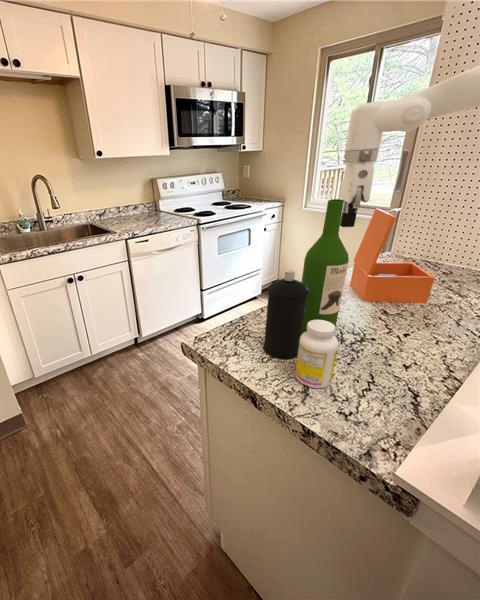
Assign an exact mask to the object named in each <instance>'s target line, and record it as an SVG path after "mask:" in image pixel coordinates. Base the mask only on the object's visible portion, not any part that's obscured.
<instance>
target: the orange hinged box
mask: <svg viewBox="0 0 480 600" xmlns="http://www.w3.org/2000/svg"><path fill="white" fill-rule="evenodd" d="M377 274H396V275H397V276H377ZM435 279H436V277H435V276H434V275H432V274H431V273H429V272H428V271H426V270H425V269H423V268H422V267H421V266H419V265H418V264H416V263H415V262H413V261H411V262H409V261H407V262H406V261H405V262H404V261H401V262H400V261H398V262H397V261H395V262H394V261H392V262H391V261H389V262H388V261H383V262H379V261H377V262H376V264H375V266H374V268H373V270H372V272H371V275H367V274H366V273H365V272H364V271H363V270H362V269H361V268H360V267H359V266H358V265H357V264H356V263H355V262H354V263H353V268H352V272H351V277H350V283H349V286H351V288H352V289H353V291H354V292H355V293H356V294H357V296H358V297H359V298H360V300H361V301H362V302H375V303H376V302H380V303H412V304H427V303H428V300H429V297H430V293H431V291H432V288H433V286H434V282H435Z"/></svg>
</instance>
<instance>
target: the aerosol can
mask: <svg viewBox="0 0 480 600" xmlns="http://www.w3.org/2000/svg"><path fill="white" fill-rule="evenodd" d="M295 275H296V271H295V270H294V269H285V270H284V278H280V279H277V280H275V281H274V282H272V283H270V284H269V285H268V286H267V291H268V296H267V307H266V308H267V309H266V320H265V332H264V343H263V344H262V349H263V351H264V352H265V353H266V354H267V355H269V356H270V357H273V358H276V359H280V360H291V359H295V358H297V357H298V349H299V341H300V337H301V334H302V327H303V320H304V313H305V306H306V300H307V295H308V293H309V289H308V288H307V287H306V286H305V285H304V284H303V283H302V281H299V280H297V279H295V278H296V277H295Z"/></svg>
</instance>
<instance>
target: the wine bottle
mask: <svg viewBox="0 0 480 600" xmlns="http://www.w3.org/2000/svg"><path fill="white" fill-rule="evenodd" d="M343 204H344V200H342V199H341V198H339V199H338V198H333V199H328V200H327V205H326V211H325V217H324V223H323V228H322V233H321V235H320V237H319V238H318V239H317V240H316V241H315V242H314V243H313V245H312V246H311V247H310V248H309V249H308V250H307V251H306V254H305V257H304V259H303V260H304V261H303V268H302V274H301V275H302V276H301V282H302V283H303V284H304V285H305V286H306V287H307V288H308V289H309V293H308V295H307V300H306V306H305V313H304V320H303V327H302V334H303V333H304V332H306V331H307V324H308V322H309V321H311V320H325V321H328V322H330V323H332V324H334V326H335V328H337V327H336V326H337V321H338V317H339V312H340V307H341V302H342V297H343V291H344V286H345V282H346V277H347V273H348V267H349V261H350V259H349V253H348V251H347V249H346V247H345V245H344V243H343V241H342V240H341V238H340V234H339V233H340V227H341V226H340V222H341V217H342V212H343ZM302 334H301V335H302Z"/></svg>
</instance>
